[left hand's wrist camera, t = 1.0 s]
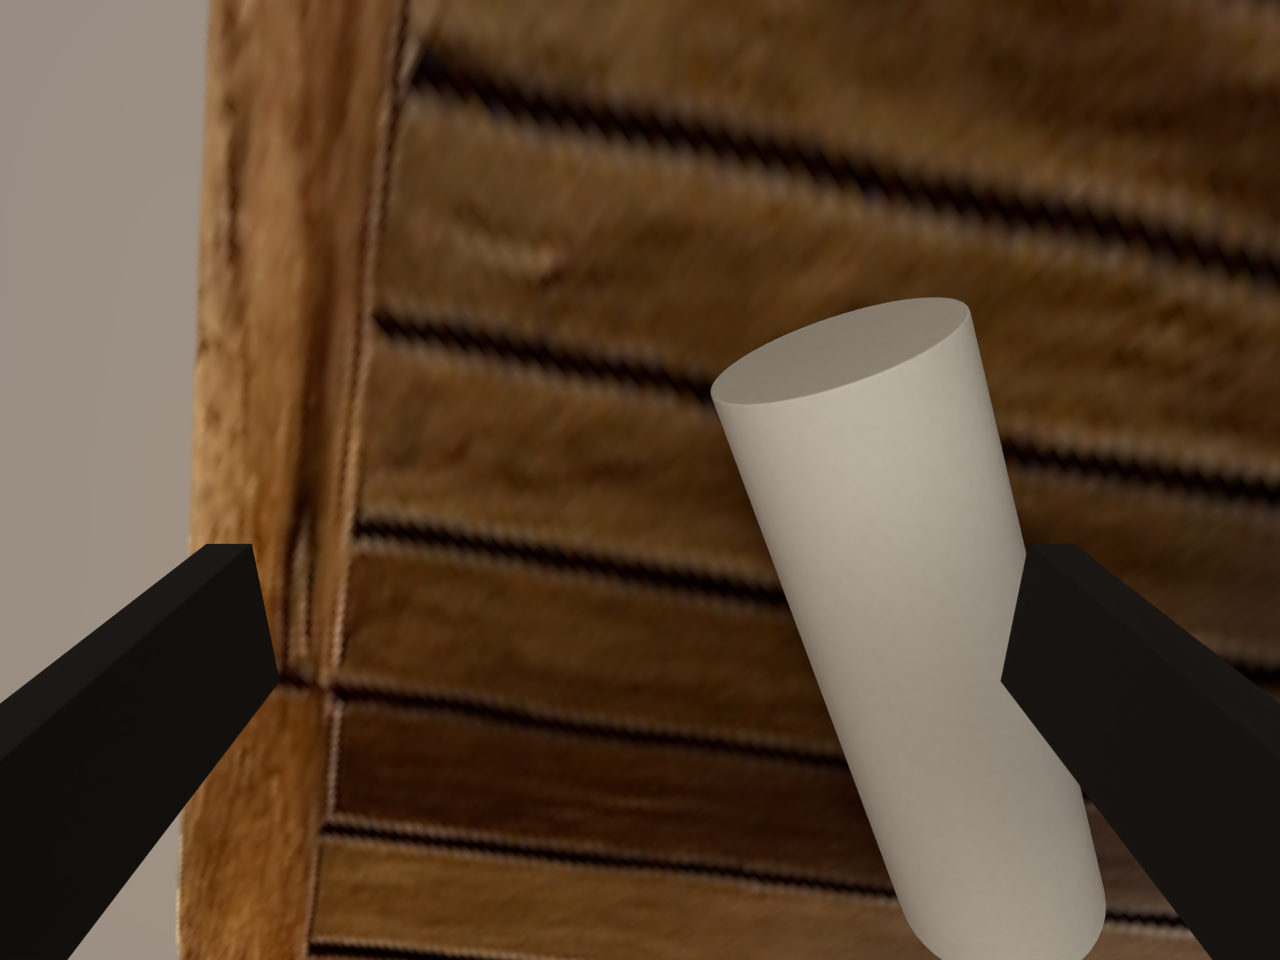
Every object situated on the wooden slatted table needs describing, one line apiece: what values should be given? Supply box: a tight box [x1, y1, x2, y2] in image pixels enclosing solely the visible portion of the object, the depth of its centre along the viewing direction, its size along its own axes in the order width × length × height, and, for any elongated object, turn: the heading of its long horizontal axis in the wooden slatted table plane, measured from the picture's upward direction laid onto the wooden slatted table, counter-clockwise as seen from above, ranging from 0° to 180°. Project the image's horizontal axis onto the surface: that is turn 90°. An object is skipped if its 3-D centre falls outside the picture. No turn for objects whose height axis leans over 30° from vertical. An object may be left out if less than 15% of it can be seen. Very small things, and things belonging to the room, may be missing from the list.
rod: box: [711, 297, 1106, 960], centre depth 29 cm, size 26×9×9 cm, turn 22°
